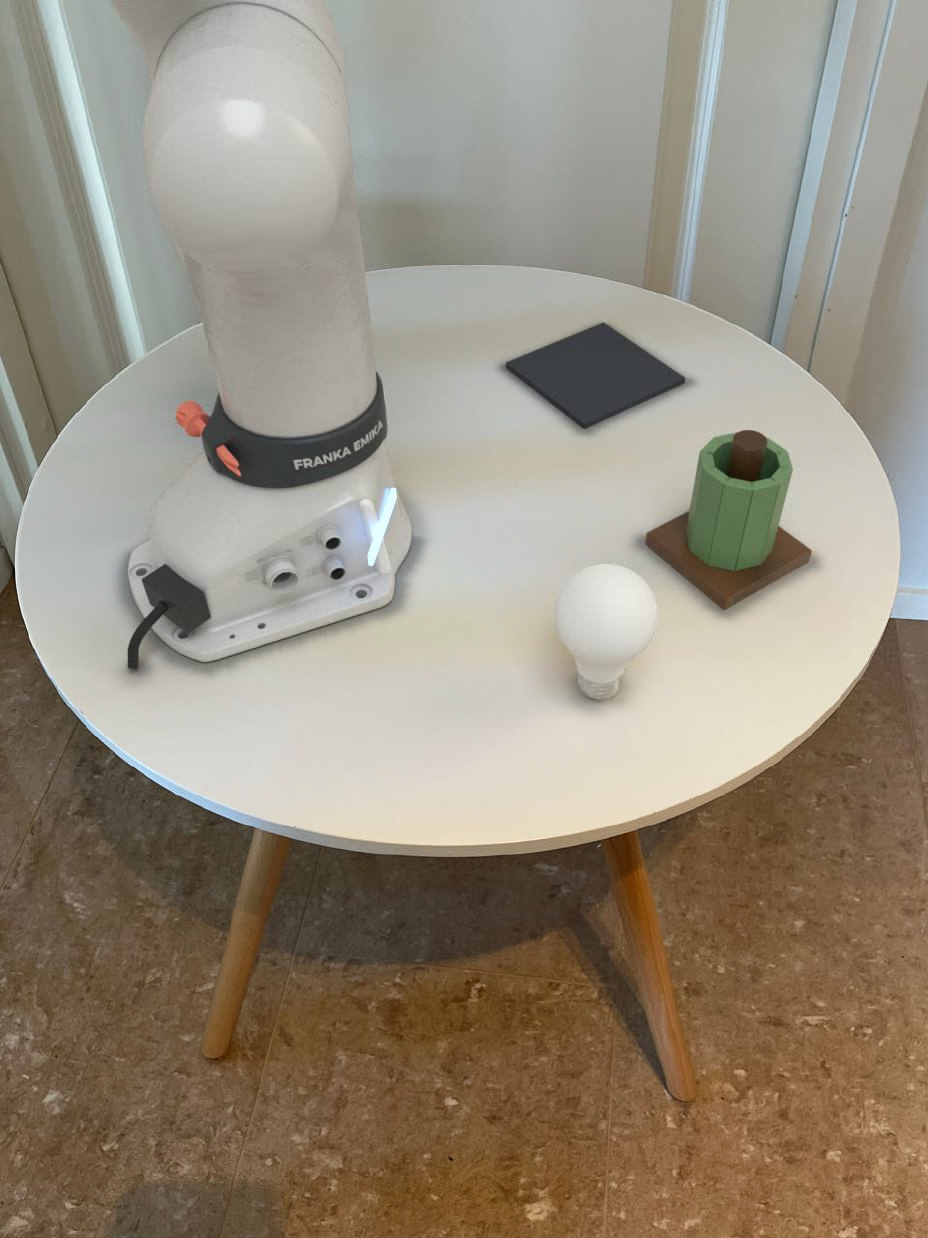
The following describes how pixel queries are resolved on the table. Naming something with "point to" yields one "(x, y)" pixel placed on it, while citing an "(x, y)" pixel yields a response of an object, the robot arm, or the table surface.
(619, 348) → the mat
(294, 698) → the table surface
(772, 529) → the green tube
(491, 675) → the table surface
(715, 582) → the peg stand
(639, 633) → the light bulb
